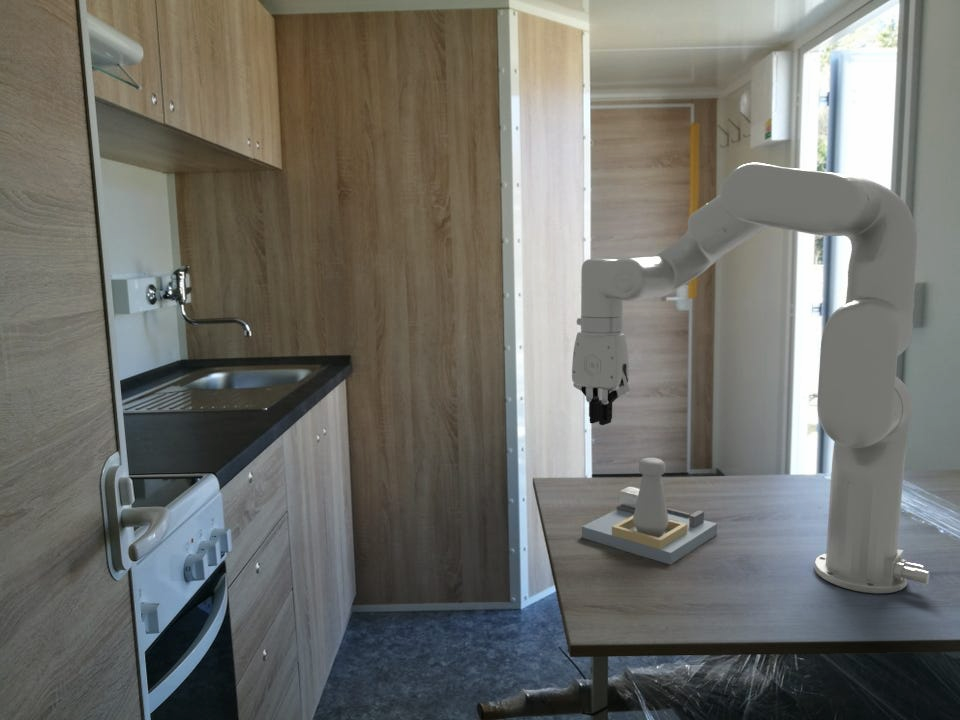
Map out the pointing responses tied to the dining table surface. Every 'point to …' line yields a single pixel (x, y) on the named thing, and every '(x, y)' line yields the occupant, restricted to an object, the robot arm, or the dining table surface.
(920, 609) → the dining table surface
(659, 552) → the base
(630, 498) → the cover
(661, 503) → the salt shaker
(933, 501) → the dining table surface
